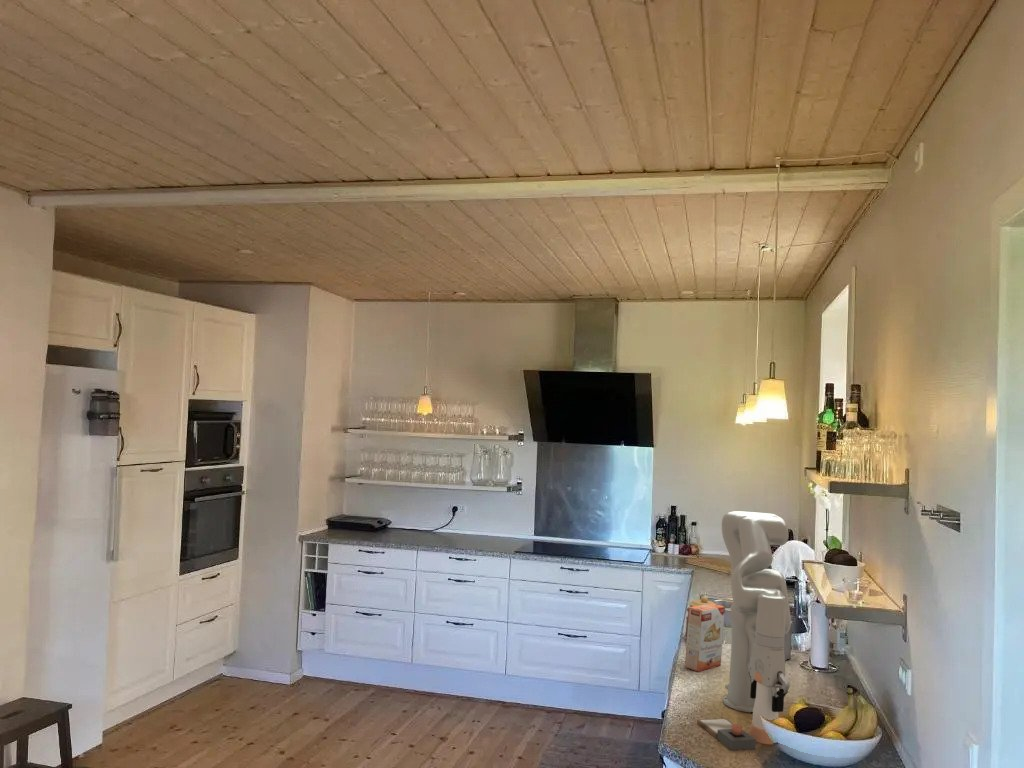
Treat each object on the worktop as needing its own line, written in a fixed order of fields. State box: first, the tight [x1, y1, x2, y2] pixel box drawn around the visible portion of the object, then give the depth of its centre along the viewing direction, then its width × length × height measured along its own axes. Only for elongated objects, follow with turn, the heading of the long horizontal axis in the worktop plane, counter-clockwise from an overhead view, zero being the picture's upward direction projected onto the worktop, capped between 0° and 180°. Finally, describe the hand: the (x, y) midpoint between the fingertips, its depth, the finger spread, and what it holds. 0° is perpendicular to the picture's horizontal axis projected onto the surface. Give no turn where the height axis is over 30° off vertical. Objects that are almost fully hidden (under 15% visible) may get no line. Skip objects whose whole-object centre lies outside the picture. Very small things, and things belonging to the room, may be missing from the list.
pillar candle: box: [784, 620, 793, 660], centre depth 286 cm, size 10×10×15 cm
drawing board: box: [696, 717, 734, 739], centre depth 212 cm, size 10×9×1 cm
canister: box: [684, 595, 716, 642], centre depth 299 cm, size 13×13×18 cm
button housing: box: [716, 729, 757, 751], centre depth 203 cm, size 7×7×2 cm
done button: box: [732, 723, 743, 735], centre depth 204 cm, size 3×3×2 cm
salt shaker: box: [749, 672, 780, 746], centre depth 209 cm, size 7×7×19 cm
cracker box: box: [684, 603, 726, 672], centre depth 268 cm, size 14×6×21 cm, turn 131°
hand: (766, 704), depth 208 cm, fingers open, 9 cm apart
